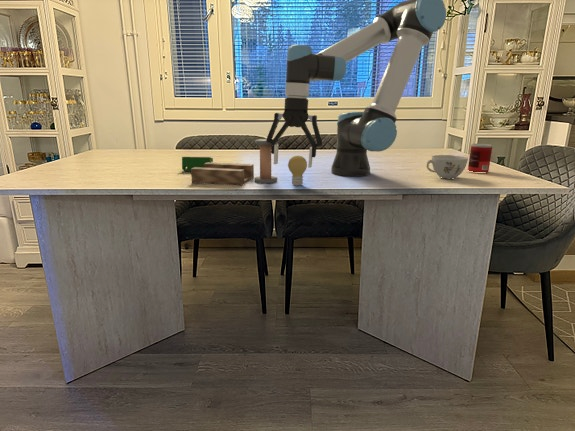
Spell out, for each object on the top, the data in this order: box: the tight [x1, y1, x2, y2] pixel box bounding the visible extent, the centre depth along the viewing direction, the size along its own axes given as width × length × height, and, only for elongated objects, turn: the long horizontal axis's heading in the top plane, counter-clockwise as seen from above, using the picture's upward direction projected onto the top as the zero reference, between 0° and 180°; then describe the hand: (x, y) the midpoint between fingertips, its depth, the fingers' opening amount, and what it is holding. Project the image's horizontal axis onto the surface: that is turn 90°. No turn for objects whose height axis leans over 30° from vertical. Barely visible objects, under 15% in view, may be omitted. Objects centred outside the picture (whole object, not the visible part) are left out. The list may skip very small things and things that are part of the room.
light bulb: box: [287, 155, 308, 187], centre depth 136 cm, size 6×6×10 cm
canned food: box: [467, 143, 493, 173], centre depth 161 cm, size 8×8×11 cm
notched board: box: [190, 162, 255, 187], centre depth 143 cm, size 18×14×5 cm
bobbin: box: [253, 138, 278, 185], centre depth 140 cm, size 8×8×14 cm
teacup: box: [426, 154, 469, 179], centre depth 149 cm, size 15×12×8 cm
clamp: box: [181, 156, 214, 172], centre depth 161 cm, size 12×6×9 cm, turn 81°
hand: (292, 165), depth 135 cm, fingers open, 11 cm apart
